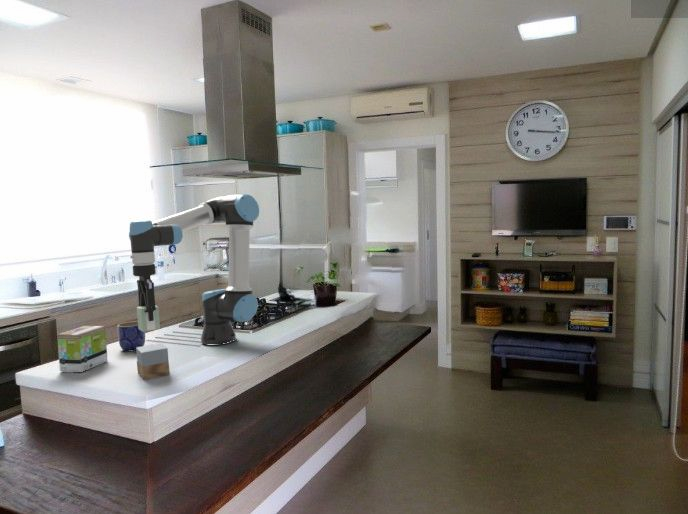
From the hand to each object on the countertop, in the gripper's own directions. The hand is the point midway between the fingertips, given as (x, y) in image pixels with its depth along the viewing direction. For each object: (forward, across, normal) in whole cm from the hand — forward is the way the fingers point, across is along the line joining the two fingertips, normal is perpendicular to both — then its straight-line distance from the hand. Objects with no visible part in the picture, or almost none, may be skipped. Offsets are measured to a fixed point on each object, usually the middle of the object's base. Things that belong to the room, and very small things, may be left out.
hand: (148, 328), depth 185 cm
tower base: (+17, 0, 0) cm, 17 cm away
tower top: (+12, 0, 0) cm, 12 cm away
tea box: (+17, -29, -18) cm, 38 cm away
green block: (0, 0, 0) cm, 0 cm away
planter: (+17, -43, +3) cm, 46 cm away
